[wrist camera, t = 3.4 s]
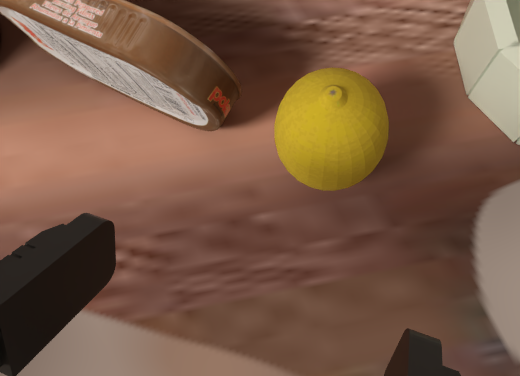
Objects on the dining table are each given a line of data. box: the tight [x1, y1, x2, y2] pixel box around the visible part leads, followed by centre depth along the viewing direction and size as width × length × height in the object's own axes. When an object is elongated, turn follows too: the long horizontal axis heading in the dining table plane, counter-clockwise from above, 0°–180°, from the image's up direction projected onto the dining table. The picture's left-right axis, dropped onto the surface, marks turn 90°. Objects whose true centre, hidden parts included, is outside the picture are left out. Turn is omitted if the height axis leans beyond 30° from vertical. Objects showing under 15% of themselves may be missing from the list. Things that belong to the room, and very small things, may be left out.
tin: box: [0, 0, 242, 131], centre depth 24 cm, size 15×3×8 cm, turn 61°
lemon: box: [275, 68, 389, 190], centre depth 21 cm, size 6×6×8 cm
